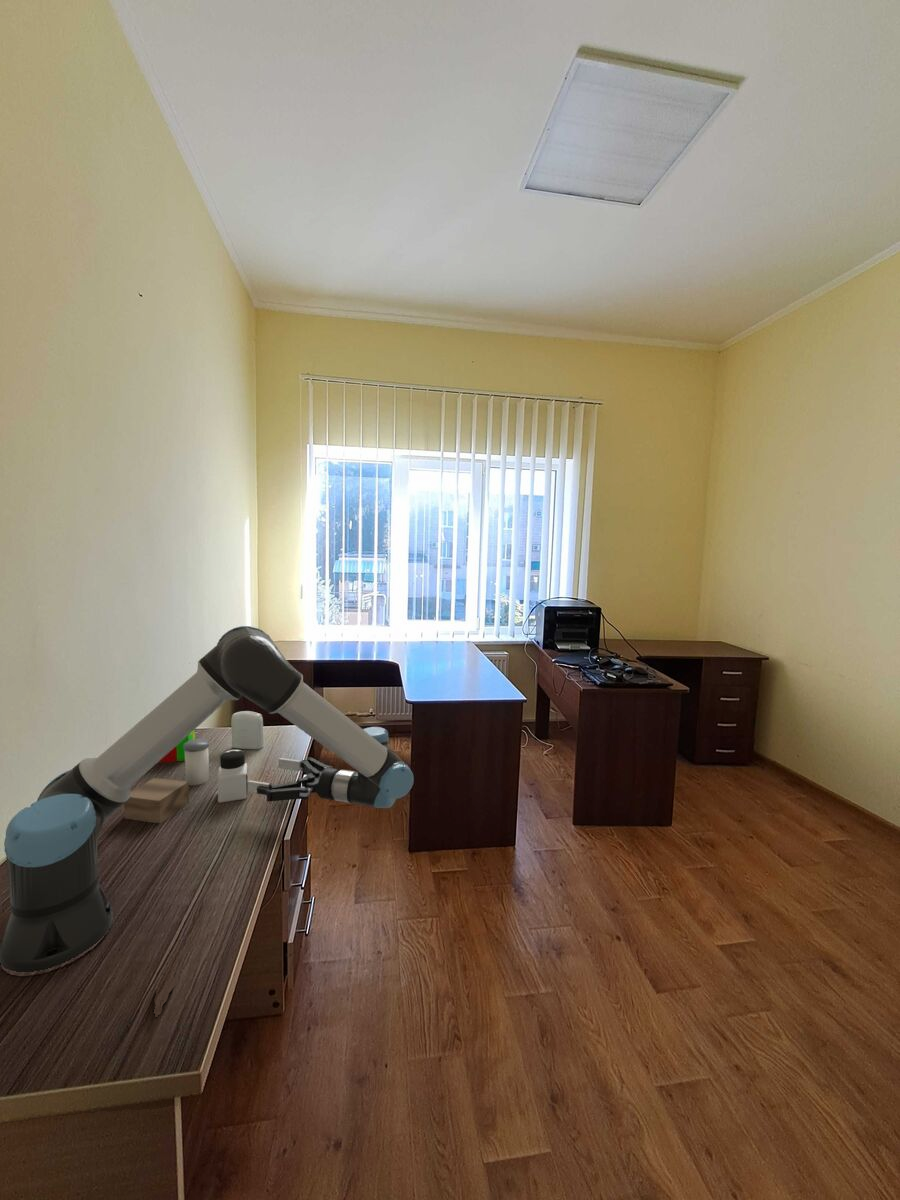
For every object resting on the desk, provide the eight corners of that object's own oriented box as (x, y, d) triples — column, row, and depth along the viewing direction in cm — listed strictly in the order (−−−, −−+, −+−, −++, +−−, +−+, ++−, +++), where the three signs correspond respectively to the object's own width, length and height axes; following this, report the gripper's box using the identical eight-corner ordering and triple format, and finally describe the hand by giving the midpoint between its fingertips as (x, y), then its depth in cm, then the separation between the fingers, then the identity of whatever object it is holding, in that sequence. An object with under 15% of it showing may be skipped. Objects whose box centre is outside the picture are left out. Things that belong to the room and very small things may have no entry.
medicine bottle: (247, 799, 131) (246, 756, 130) (218, 803, 129) (216, 759, 127) (247, 786, 138) (246, 745, 137) (219, 790, 135) (218, 749, 134)
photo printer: (229, 748, 163) (228, 712, 161) (236, 743, 167) (235, 708, 165) (259, 750, 162) (258, 714, 160) (265, 745, 166) (264, 710, 164)
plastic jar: (198, 787, 137) (197, 748, 136) (179, 783, 138) (178, 746, 137) (214, 776, 143) (213, 740, 142) (196, 773, 145) (195, 737, 143)
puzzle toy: (161, 750, 160) (160, 721, 159) (195, 747, 163) (194, 718, 162) (152, 763, 151) (151, 732, 149) (189, 760, 154) (188, 729, 152)
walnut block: (160, 824, 119) (159, 800, 118) (124, 819, 121) (123, 796, 120) (189, 803, 129) (188, 781, 128) (155, 798, 131) (154, 777, 130)
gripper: (312, 825, 114) (233, 811, 119) (358, 776, 138) (290, 766, 143) (312, 794, 113) (233, 782, 118) (358, 751, 137) (290, 742, 142)
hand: (264, 773), depth 130 cm, fingers open, 13 cm apart
